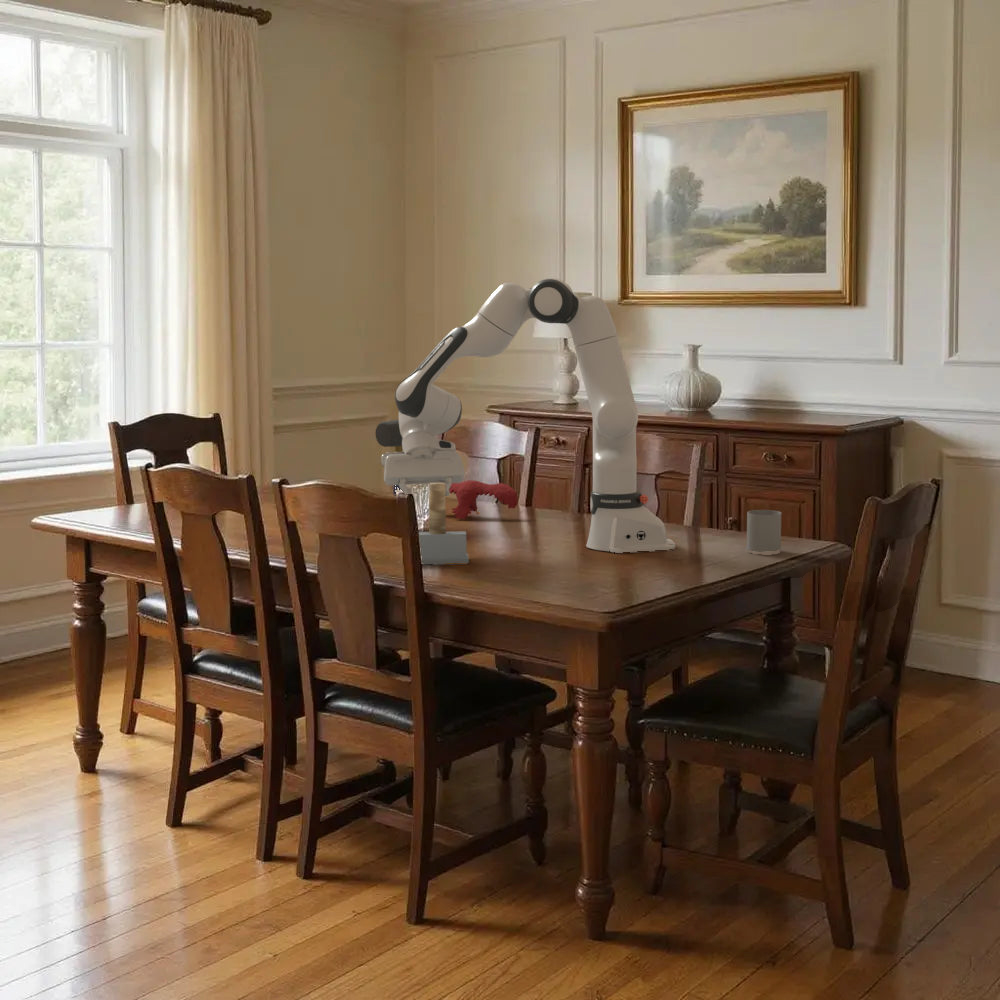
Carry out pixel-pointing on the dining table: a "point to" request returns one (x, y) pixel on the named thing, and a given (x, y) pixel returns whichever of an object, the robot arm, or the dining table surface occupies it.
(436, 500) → the dowel
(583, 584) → the dining table surface
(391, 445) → the rubber mallet
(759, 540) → the cup
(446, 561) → the gray rectangular block
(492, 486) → the red irregular arched piece
